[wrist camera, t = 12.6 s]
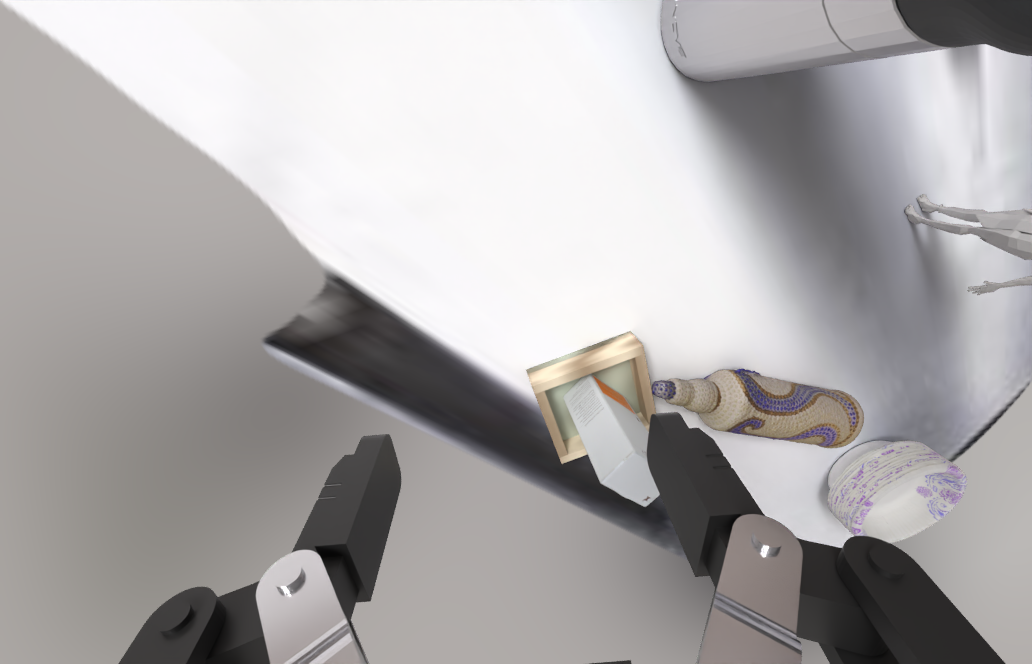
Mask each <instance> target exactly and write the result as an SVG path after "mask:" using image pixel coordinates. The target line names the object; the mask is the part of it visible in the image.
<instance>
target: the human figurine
mask: <svg viewBox="0 0 1032 664" xmlns="http://www.w3.org/2000/svg"><path fill="white" fill-rule="evenodd" d="M917 200H918V202H919V204H920V207H921V208H922V211H926V212H929V213H932V212H934V211H938V213H943V214H946V215H948V216H951V217H954V218H958V219H962V220H965V221H970V222H980V223H981V225H982V226H983V227H973V226H971V225H960V224H950V223H946V222H942V221H934V220H929V219H926V218H923V217H922V216H921V215H919V214H918V213H917V212H915V211H914V207H913V206H912V205H909V207H908V206H907V207H906V209H905V214H907V215H908V219H909V221H910V222H912V223H915V224H920V223H923V224H927V225H930V226H932V227H935V228H937V229H940V230H943V231H946V232H949V233H954V234H960V235H963V234H970V233H971V234H974V235H977V236H979V237H981V238H980V239H982V240H984V241H985V242H987V243H989V244H991V245H993V246H996V247H998V248H1000V249H1002V250H1004V251H1006V252H1008V253H1011V254H1013V255H1015V256H1018V257H1020V258H1022V259H1024V260H1032V209H1022V210H1014V211H1001V212H987V211H985V210H974V209H962V208H956V207H943V205H942V204H941V205H935V204H933V203H931V202H929V200H928V198H927V196H926V195H925V194H922V195H920V197H918V198H917ZM984 283H986V284H987V285H982V286H976V287H968V288H969V289H971V290H968V292H969V291H975V292H973V294H974V293H977V295H980V294H983V293H987V292H994V291H996V290H998V289H999V288H1003V287H1011V286H1020V285H1032V276H1028V277H1024V278H1019V279H1016V280H1012V281H1008V282H1004V283H992V282H988V281H984ZM973 288H977V289H973ZM976 290H979V291H976ZM978 292H979V293H978Z"/></svg>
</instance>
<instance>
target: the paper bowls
mask: <svg viewBox="0 0 1032 664" xmlns="http://www.w3.org/2000/svg"><path fill="white" fill-rule="evenodd" d="M828 485H829V488H830V491H829V494H828V498H827V504H828V507H829V509H830V511H831V512H832V513H833V515H834V516H835V517H836V518H837V519H838V520H839V521H840V522H841V523H842V524H843V525H844V526H845V527H846V528H847V529H848V530H849V531H850V532H851V533H852V534H853V535H854V536H870V537H874V538H878V539H881V540H883V541H886V542H888V543H894V542H898V541H901V540H904V539H907V538H909V537H911V536H914V535H916V534H918V533H920V532H922V531H924V530H926V529H927V528H929V527H931V526H932V525H934V524H935V523H937V522H938V521H939V520H941V519H942V518H943V517H944V516H946V515H947V514H948V513H949V512H950V511H951V510H952V509H953V508H954V507H955V506H956V505H957V503H958V502H959V501H960V499H961V498H962V496H963V494H964V491H965V489H966V486H967V478H966V476H965V474H964V472H963V471H962V470H961V469H960V468H958V467H957V466H956V465H955V464H953V463H951V462H950V461H948V460H947V459H945V458H943V457H942V456H941V455H939V454H938V453H936V452H935V451H933V450H932V449H930V448H929V447H927V446H926V445H924V444H922V443H921V442H917V441H910V440H905V441H896V442H888V441H871V442H867V443H863V444H861V445H858V446H856V447H855V448H853V449H851V450H850V451H848V452H847V453H845V454H844V455H843V456H842V457H840V458H839V459H838V460H837V462H836V463H835V464H834V465H833V467H832V469H831V470H830V473H829V476H828Z"/></svg>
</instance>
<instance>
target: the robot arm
mask: <svg viewBox="0 0 1032 664" xmlns="http://www.w3.org/2000/svg"><path fill="white" fill-rule="evenodd" d="M661 32H662V37H663V42H664V46H665V48H666V51H667V53H668V56H669V58H670V60H671V61H672V62H673V64H674V65H675V67H676V68H677V69H678V70H679V71H680V72H682V73H683V74H684V75H685V76H687V77H689V78H691V79H694V80H696V81H703V82H712V81H720V80H727V79H735V78H745V77H752V76H759V75H766V74H773V73H781V72H788V71H795V70H802V69H809V68H816V67H823V66H831V65H838V64H845V63H852V62H859V61H866V60H874V59H881V58H887V57H892V56H899V55H906V54H914V53H921V52H928V51H935V50H942V49H949V48H956V47H963V46H970V45H979V44H987V45H990V46H993V47H996V48H998V49H1001V50H1004V51H1007V52H1011V53H1015V54H1020V55H1026V56H1032V0H663V1H662V9H661ZM647 462H648V466H649V470H650V473H651V475H652V477H653V480H654V482H655V484H656V487H657V489H658V491H659V493H660V496H661V498H662V500H663V503H664V505H665V507H666V510H667V512H668V514H669V517H670V519H671V521H672V524H673V526H674V528H675V531H676V533H677V535H678V538H679V540H680V542H681V545H682V547H683V549H684V552H685V554H686V556H687V559H688V561H689V563H690V565H691V568H692V570H693V572H694V575H695V577H698V576H710V577H711V579H712V581H713V584H714V586H715V591H714V594H713V598H712V602H711V606H710V610H709V614H708V618H707V622H706V626H705V630H704V634H703V637H702V642H701V646H700V650H699V653H698V657H697V661H696V664H801V661H802V647H801V643H800V641H798V640H797V638H796V637H800V638H803V639H807V640H811V641H815V642H818V643H819V644H820V646H821V648H822V650H823V651H824V653H825V655H826V657H827V659H828V661H829V662H830V664H1005V663H1004V662H1003V661H1002V659H1001V658H1000V657H999V656H998V655H997V653H996V652H995V651H994V650H993V649H992V648H991V647H990V645H989V644H988V643H987V642H986V641H985V640H984V639H983V638H982V636H981V635H980V634H979V633H978V632H977V631H976V630H975V629H974V627H973V626H972V625H971V624H970V623H969V622H968V620H967V619H966V618H965V617H964V616H963V615H962V614H961V612H960V611H959V610H958V609H957V608H956V607H955V606H954V605H953V603H952V602H951V601H950V600H949V599H948V598H947V597H946V595H945V594H944V593H943V592H942V591H941V590H940V589H939V588H938V586H937V585H936V584H935V583H934V582H933V581H932V579H931V578H930V577H929V576H928V575H927V574H926V573H925V572H924V570H923V569H922V568H921V567H920V566H919V565H918V564H917V563H916V562H915V561H914V560H913V559H912V558H911V557H910V556H909V555H907V554H906V553H905V552H903V551H902V550H901V549H899V548H897V547H896V546H894V545H892V544H890V543H888V542H886V541H883V540H881V539H878V538H874V537H870V536H854V537H851V538H849V539H848V540H847V541H846V542H845V544H844V546H843V548H838V547H833V546H829V545H824V544H819V543H814V542H809V541H805V540H802V539H799V538H796V537H795V536H794V534H793V533H792V532H791V531H790V530H789V529H788V528H786V527H785V526H784V525H782V524H781V523H779V522H778V521H776V520H774V519H772V518H769V517H766V516H765V515H764V514H763V513H762V511H761V510H760V508H759V507H758V505H757V504H756V502H755V501H754V499H753V498H752V496H751V495H750V493H749V492H748V490H747V489H746V487H745V486H744V484H743V483H742V481H741V480H740V478H739V477H738V475H737V474H736V472H735V471H734V469H733V468H731V465H730V463H729V462H728V461H727V459H726V458H725V457H724V456H723V453H722V452H721V450H720V449H719V447H718V446H717V444H716V443H715V441H714V440H713V439H712V438H711V437H709V436H708V435H707V434H706V433H704V432H703V431H702V430H700V429H699V428H690V429H689V428H688V426H687V425H686V423H685V421H684V420H683V418H682V416H681V415H680V414H679V413H678V412H671V413H658V414H652V415H651V418H650V426H649V434H648V443H647ZM400 488H401V472H400V467H399V464H398V461H397V457H396V453H395V450H394V447H393V443H392V439H391V437H390V435H388V434H385V435H372V436H364V437H362V438H361V440H360V442H359V444H358V447H357V449H356V451H355V454H354V455H345V456H344V457H343V458H342V459H341V460H340V461H339V462H338V463H337V464H336V465H335V466H334V467H333V469H332V470H331V472H330V474H329V476H328V478H327V480H326V482H325V487H324V488H323V489H322V491H321V493H320V495H319V499H318V500H317V501H316V503H315V505H314V507H313V510H312V512H311V514H310V516H309V518H308V520H307V522H306V524H305V526H304V528H303V531H302V532H301V535H300V537H299V539H298V541H297V543H296V545H295V547H294V549H293V551H292V553H290V554H288V555H286V556H284V557H282V558H281V559H279V560H278V561H277V562H276V563H274V564H273V565H272V566H271V567H270V568H269V569H268V570H267V571H266V573H265V574H264V576H263V577H262V579H261V580H260V581H258V582H256V583H254V584H251V585H249V586H246V587H244V588H241V589H238V590H236V591H233V592H230V593H228V594H225V595H222V596H220V597H217V596H216V594H215V593H214V592H213V591H212V590H211V589H210V588H207V587H195V588H191V589H188V590H185V591H183V592H181V593H179V594H177V595H175V596H174V597H172V598H171V599H169V600H168V601H166V602H165V603H164V604H163V605H161V606H160V607H159V608H158V609H157V610H156V611H155V612H154V613H153V614H152V615H151V616H150V617H149V619H148V620H147V621H146V623H145V624H144V625H143V627H142V629H141V630H140V632H139V633H138V635H137V636H136V638H135V640H134V641H133V642H132V644H131V645H130V647H129V648H128V650H127V652H126V653H125V655H124V656H123V658H122V659H121V661H120V662H119V664H369V662H368V659H367V657H366V654H365V652H364V650H363V647H362V645H361V642H360V640H359V638H358V635H357V633H356V630H355V628H354V625H353V623H352V621H351V617H352V614H353V610H354V607H355V603H356V602H367V601H371V597H372V594H373V590H374V586H375V582H376V579H377V575H378V571H379V567H380V563H381V560H382V556H383V552H384V549H385V545H386V541H387V538H388V534H389V530H390V526H391V522H392V519H393V515H394V511H395V508H396V504H397V500H398V496H399V492H400ZM592 664H631V661H617V662H604V663H592Z"/></svg>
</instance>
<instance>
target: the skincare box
mask: <svg viewBox="0 0 1032 664" xmlns="http://www.w3.org/2000/svg"><path fill="white" fill-rule="evenodd" d="M563 399H564V401H565V404H566V406H567V408H568V410H569V413H570V415H571V417H572V419H573V422H574V424H575V426H576V429H577V431H578V433H579V435H580V438H581V440H582V442H583V444H584V447H585V449H586V451H587V454H588V456H589V458H590V460H591V463H592V465H593V467H594V469H595V472H596V474H597V476H598V479H599V481H600V483H601V484H603V485H605V486H606V487H608V488H610V489H612V490H614V491H616V492H617V493H619V494H620V495H621V496H623V497H625V498H628V499H630V500H632V501H634V502H636V503H638V504H640V505H642V506H644V507H646V506H647V505H649V504H650V503H651V502H652V501H653V500H654V499H656V498H657V497H658V496H659V495H660V493H659V491H658V489H657V487H656V484H655V482H654V480H653V477H652V475H651V473H650V470H649V466H648V462H647V443H648V434H649V433H648V431H647V429H646V428H645V426H644V425H643V424H642V422H641V421H640V419H639V418H638V416H637V415H636V413H635V412H634V410H633V408H632V407H631V405H630V404H629V402H628V401H627V399H626V398H625V396H624V395H622V394H620V393H619V392H617V391H616V390H614V389H613V388H611V387H610V386H608V385H607V384H605V383H604V382H603V381H601V380H600V379H599V378H597V377H596V376H594V375H593V374H592V373H591V374H588V375H586V376H583V377H582V378H581V379H580V380H579V381H578V382H577V383H576V384H575V385H574V386H573V387H572V388H571V389H570V390H569V391H568V392H567V393H566V394H565V395H564V397H563Z"/></svg>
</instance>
